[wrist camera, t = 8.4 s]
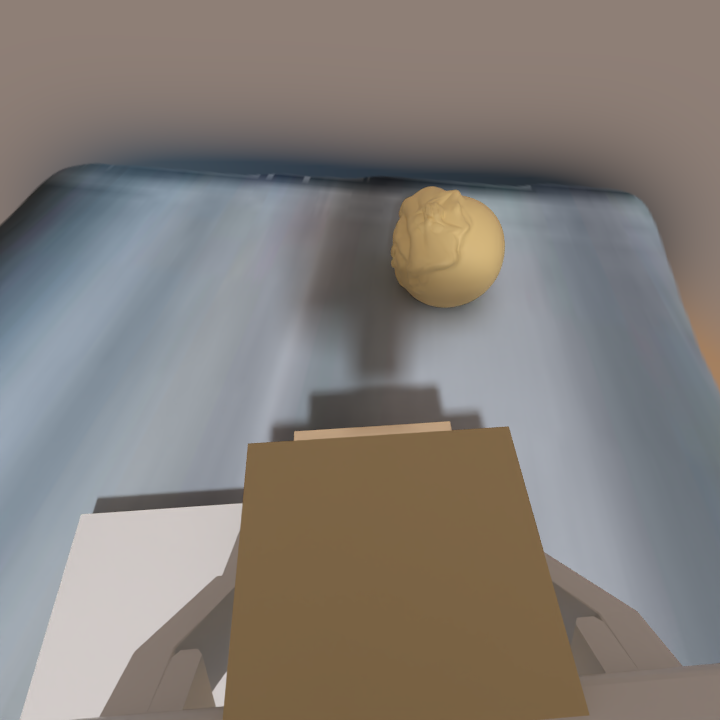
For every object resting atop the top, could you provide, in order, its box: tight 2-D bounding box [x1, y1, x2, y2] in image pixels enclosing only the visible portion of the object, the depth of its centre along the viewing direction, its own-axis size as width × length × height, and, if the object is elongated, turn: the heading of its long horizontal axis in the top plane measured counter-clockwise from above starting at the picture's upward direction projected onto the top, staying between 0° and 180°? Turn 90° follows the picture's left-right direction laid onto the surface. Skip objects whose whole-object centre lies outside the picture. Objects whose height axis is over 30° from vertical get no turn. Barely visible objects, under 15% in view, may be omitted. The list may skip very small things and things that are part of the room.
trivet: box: [20, 503, 243, 720], centre depth 25 cm, size 14×14×1 cm
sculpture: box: [391, 186, 505, 308], centre depth 36 cm, size 11×12×11 cm
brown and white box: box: [223, 427, 589, 720], centre depth 10 cm, size 5×5×11 cm
